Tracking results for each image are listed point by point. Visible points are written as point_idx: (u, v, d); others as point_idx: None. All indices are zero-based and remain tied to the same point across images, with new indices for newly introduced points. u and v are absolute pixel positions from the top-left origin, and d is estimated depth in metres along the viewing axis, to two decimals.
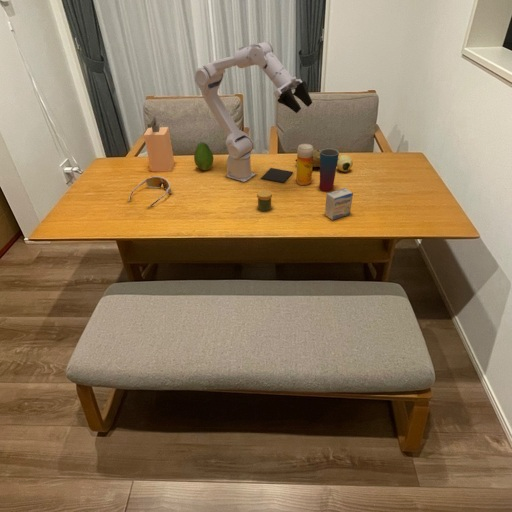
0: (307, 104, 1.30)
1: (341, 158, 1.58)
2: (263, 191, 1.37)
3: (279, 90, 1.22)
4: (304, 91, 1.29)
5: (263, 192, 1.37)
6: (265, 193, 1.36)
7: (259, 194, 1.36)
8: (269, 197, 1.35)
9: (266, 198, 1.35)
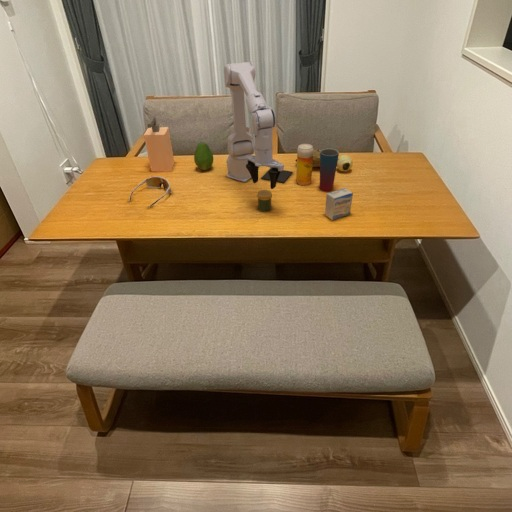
0: None
1: (341, 158, 1.58)
2: (263, 191, 1.37)
3: (246, 159, 1.32)
4: None
5: (263, 192, 1.37)
6: (265, 193, 1.36)
7: (259, 194, 1.36)
8: (269, 197, 1.35)
9: (266, 198, 1.35)
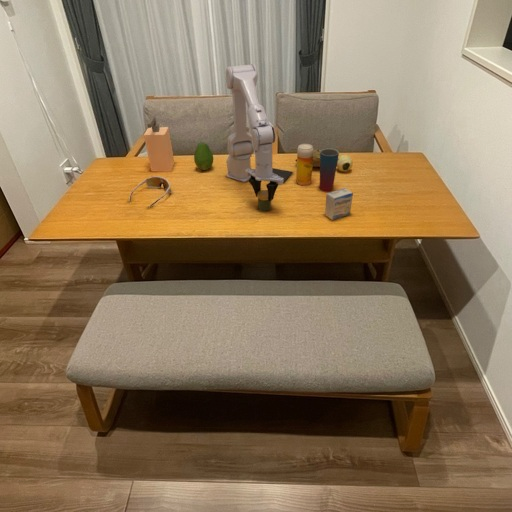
0: None
1: (341, 158, 1.58)
2: (263, 191, 1.37)
3: (246, 172, 1.35)
4: None
5: (263, 192, 1.37)
6: (265, 193, 1.36)
7: (259, 194, 1.36)
8: None
9: (266, 198, 1.35)
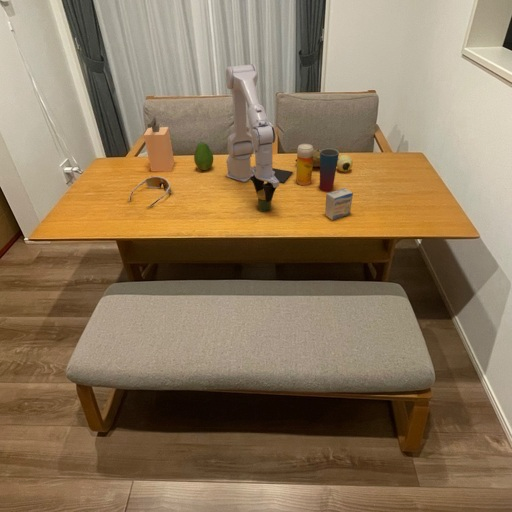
0: None
1: (341, 158, 1.58)
2: (263, 194, 1.35)
3: None
4: (263, 182, 1.37)
5: (264, 193, 1.36)
6: (263, 192, 1.36)
7: None
8: None
9: None
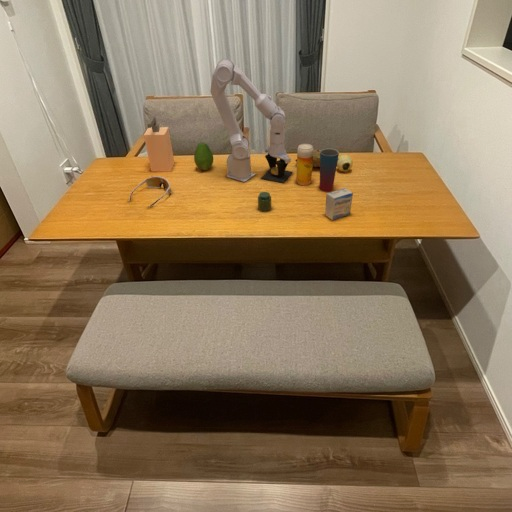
0: None
1: (341, 158, 1.58)
2: (276, 170, 1.57)
3: None
4: (275, 160, 1.59)
5: (277, 169, 1.57)
6: (276, 168, 1.58)
7: None
8: None
9: None
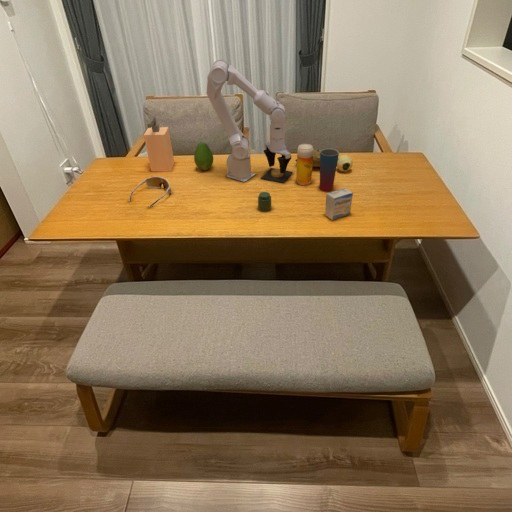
0: (271, 165, 1.60)
1: (341, 158, 1.58)
2: (277, 173, 1.58)
3: None
4: (274, 155, 1.58)
5: (277, 172, 1.58)
6: (276, 171, 1.59)
7: None
8: None
9: None
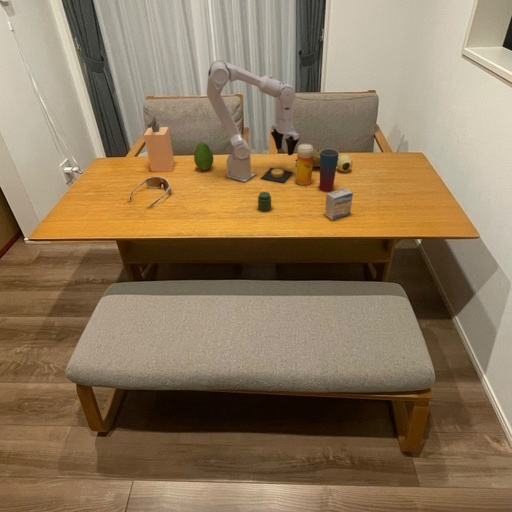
0: (278, 147, 1.58)
1: (341, 158, 1.58)
2: (277, 173, 1.58)
3: None
4: (281, 137, 1.56)
5: (277, 172, 1.58)
6: (276, 171, 1.59)
7: (282, 171, 1.59)
8: None
9: None
